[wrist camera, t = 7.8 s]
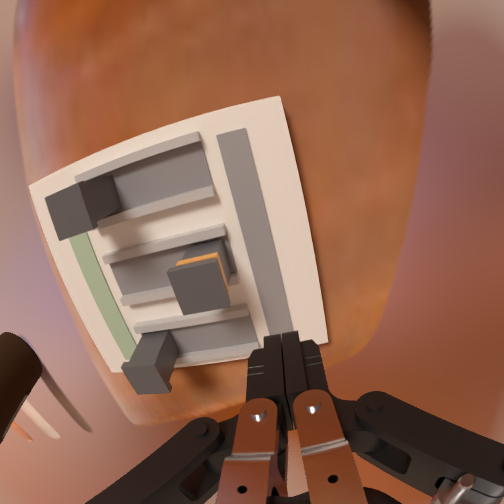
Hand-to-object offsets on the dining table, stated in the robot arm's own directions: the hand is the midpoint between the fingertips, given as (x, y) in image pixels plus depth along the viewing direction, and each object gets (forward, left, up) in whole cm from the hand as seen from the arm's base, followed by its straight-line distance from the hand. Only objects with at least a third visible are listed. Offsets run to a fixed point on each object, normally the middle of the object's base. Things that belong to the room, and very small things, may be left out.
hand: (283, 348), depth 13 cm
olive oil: (+43, +10, -17) cm, 47 cm away
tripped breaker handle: (+6, 0, -14) cm, 15 cm away
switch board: (+10, 0, -17) cm, 19 cm away
